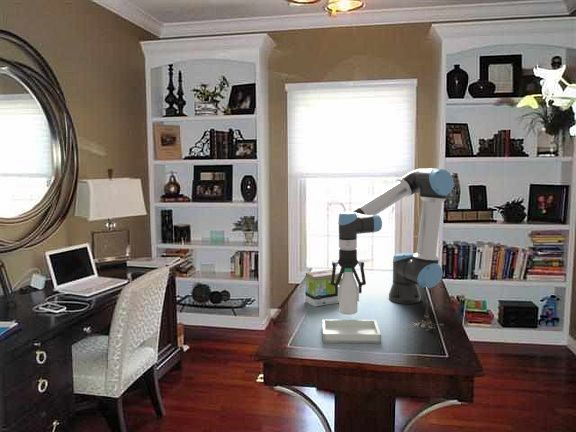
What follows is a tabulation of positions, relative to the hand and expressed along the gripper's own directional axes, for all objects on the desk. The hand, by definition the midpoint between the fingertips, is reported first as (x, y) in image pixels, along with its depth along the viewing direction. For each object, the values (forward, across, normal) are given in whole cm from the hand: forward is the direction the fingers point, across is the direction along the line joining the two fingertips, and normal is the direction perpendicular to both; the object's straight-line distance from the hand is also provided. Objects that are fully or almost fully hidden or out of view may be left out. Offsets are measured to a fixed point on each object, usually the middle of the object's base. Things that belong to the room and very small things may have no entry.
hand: (348, 300), depth 205 cm
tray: (+9, 0, -17) cm, 19 cm away
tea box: (+9, -10, +25) cm, 28 cm away
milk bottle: (+5, 0, 0) cm, 5 cm away
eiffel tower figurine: (+10, +32, -7) cm, 34 cm away
